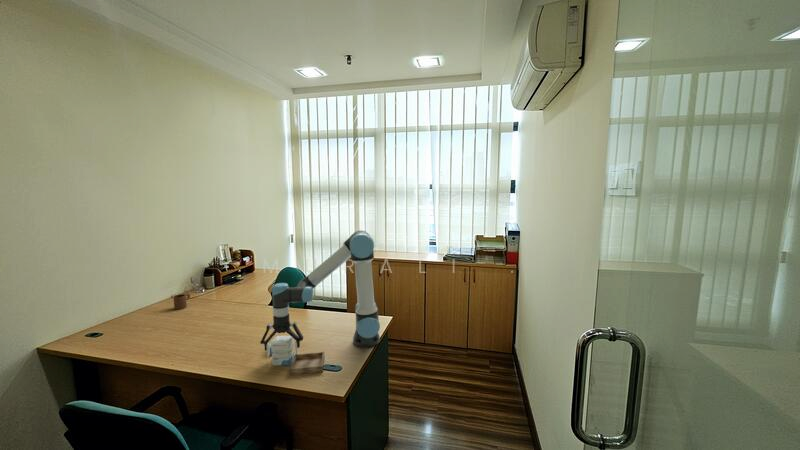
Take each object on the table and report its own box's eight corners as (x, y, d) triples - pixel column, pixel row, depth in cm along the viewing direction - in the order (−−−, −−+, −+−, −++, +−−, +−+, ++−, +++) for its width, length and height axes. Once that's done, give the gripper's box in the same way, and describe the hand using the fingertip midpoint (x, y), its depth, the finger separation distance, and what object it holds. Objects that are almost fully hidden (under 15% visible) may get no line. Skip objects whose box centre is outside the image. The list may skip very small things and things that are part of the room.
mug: (186, 303, 241) (185, 291, 240) (194, 304, 239) (193, 292, 238) (171, 309, 229) (170, 297, 228) (180, 310, 227) (179, 297, 226)
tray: (324, 357, 162) (324, 351, 162) (322, 371, 149) (322, 365, 148) (295, 359, 160) (294, 354, 159) (290, 375, 146) (290, 369, 146)
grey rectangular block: (273, 345, 175) (272, 338, 175) (279, 345, 176) (279, 337, 175) (268, 354, 165) (268, 346, 165) (275, 354, 166) (275, 346, 165)
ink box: (294, 356, 163) (293, 334, 162) (289, 365, 155) (288, 342, 153) (277, 356, 163) (276, 335, 162) (271, 365, 154) (270, 343, 153)
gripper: (307, 310, 162) (309, 348, 164) (256, 313, 158) (258, 353, 160) (306, 315, 155) (307, 356, 157) (252, 319, 150) (254, 360, 152)
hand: (282, 354), depth 158 cm, fingers open, 13 cm apart
